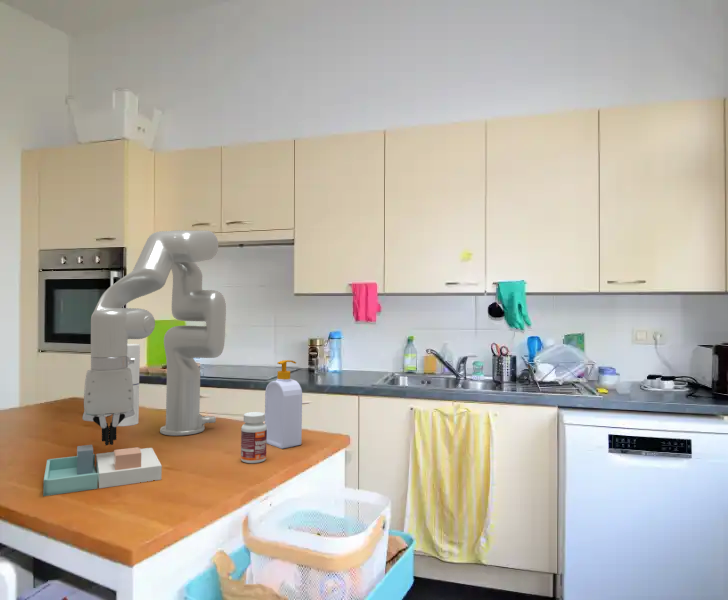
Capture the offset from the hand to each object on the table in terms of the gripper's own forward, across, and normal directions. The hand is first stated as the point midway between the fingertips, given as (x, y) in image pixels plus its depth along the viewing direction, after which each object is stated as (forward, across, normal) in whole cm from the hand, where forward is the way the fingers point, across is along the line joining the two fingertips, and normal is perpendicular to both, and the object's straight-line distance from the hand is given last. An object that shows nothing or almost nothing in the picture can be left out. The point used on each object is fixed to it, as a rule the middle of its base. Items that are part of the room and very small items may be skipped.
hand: (109, 443), depth 118 cm
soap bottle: (+7, -43, -3) cm, 44 cm away
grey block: (+3, +3, +1) cm, 4 cm away
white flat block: (+6, -4, +5) cm, 9 cm away
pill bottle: (+6, -32, +8) cm, 33 cm away
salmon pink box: (+3, -3, +10) cm, 10 cm away
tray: (+6, +8, +5) cm, 11 cm away
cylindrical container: (+7, -7, -48) cm, 49 cm away
